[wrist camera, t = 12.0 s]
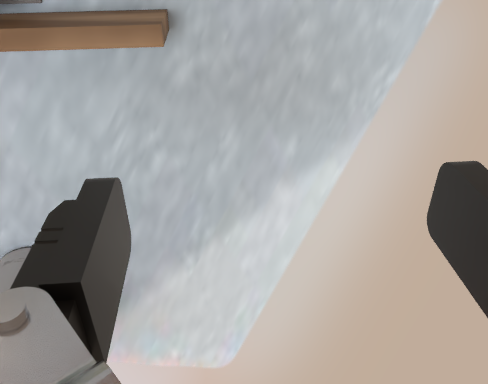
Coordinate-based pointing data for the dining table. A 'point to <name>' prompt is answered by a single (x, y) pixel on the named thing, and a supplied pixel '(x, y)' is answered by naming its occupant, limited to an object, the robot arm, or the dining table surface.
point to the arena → (83, 30)
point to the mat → (19, 1)
